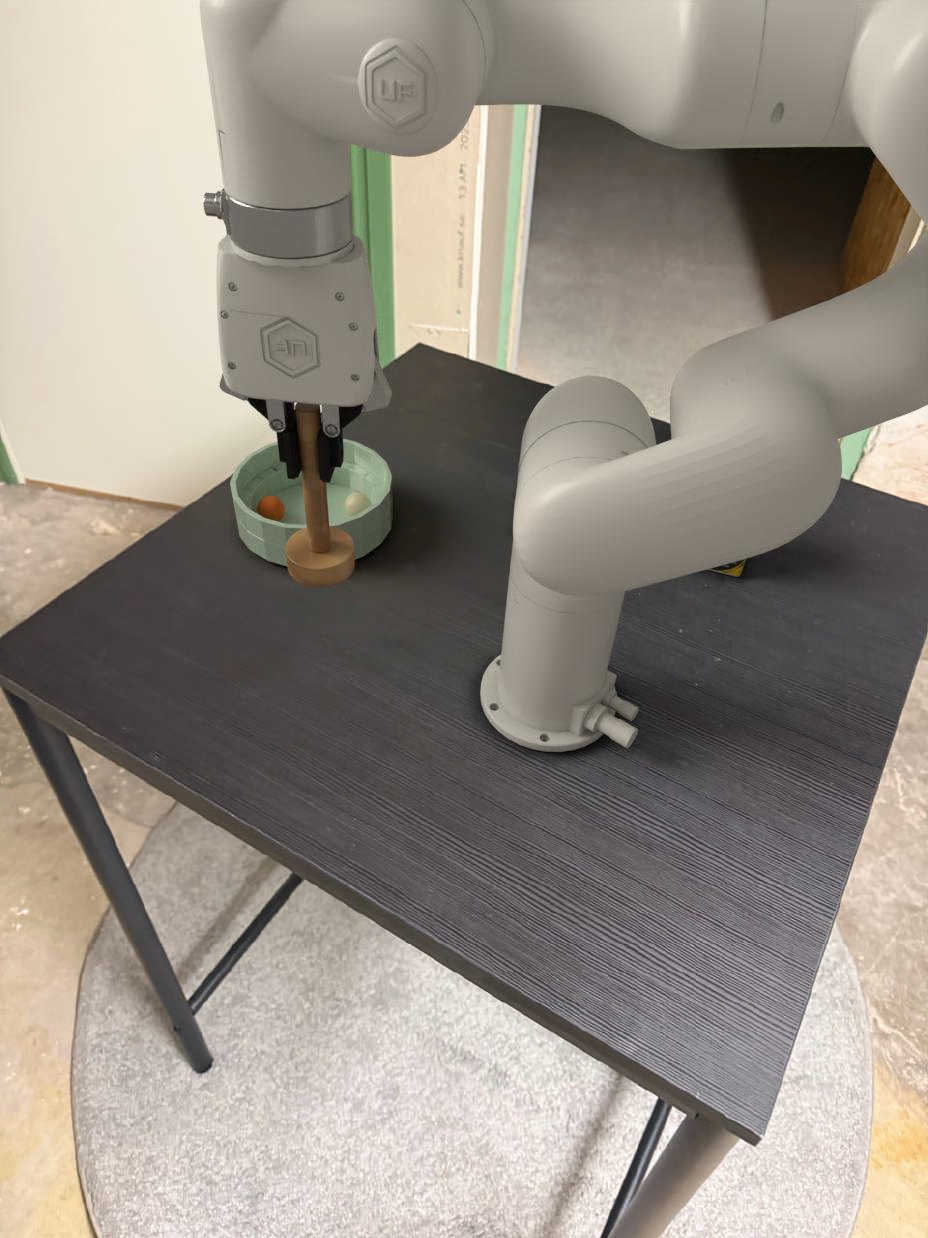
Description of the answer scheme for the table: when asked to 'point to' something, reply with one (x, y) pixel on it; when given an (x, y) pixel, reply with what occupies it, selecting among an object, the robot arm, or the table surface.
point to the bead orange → (271, 508)
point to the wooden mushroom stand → (316, 517)
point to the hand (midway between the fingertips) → (313, 469)
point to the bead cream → (356, 503)
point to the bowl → (270, 478)
